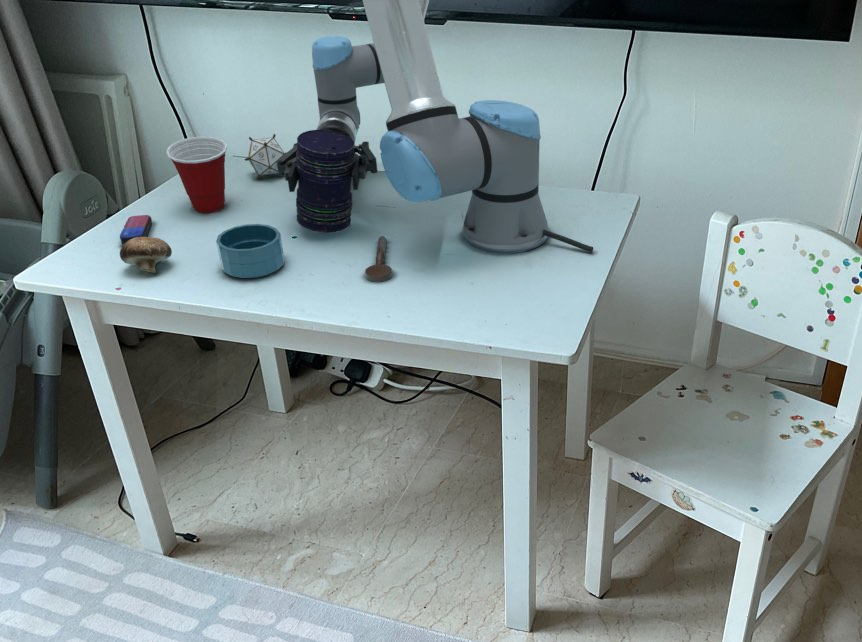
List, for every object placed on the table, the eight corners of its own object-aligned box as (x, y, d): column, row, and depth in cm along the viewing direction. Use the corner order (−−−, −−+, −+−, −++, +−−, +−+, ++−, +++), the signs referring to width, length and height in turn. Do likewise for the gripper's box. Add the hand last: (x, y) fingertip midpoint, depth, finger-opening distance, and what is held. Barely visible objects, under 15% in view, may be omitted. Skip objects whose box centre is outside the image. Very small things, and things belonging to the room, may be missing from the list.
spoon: (370, 242, 159) (369, 234, 158) (395, 241, 159) (394, 234, 159) (364, 282, 147) (364, 274, 146) (391, 281, 147) (391, 273, 146)
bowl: (295, 257, 154) (290, 227, 151) (266, 284, 146) (260, 253, 143) (242, 250, 157) (236, 220, 153) (211, 276, 149) (204, 246, 145)
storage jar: (287, 211, 163) (286, 132, 153) (336, 203, 168) (339, 126, 158) (310, 237, 157) (311, 156, 147) (360, 228, 162) (365, 150, 152)
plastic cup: (178, 222, 166) (163, 159, 159) (181, 199, 175) (167, 139, 168) (238, 216, 168) (226, 154, 161) (238, 194, 177) (227, 134, 170)
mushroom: (150, 267, 144) (142, 229, 144) (114, 279, 147) (105, 242, 147) (185, 269, 152) (177, 233, 152) (149, 281, 155) (141, 246, 155)
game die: (276, 188, 189) (293, 143, 188) (280, 188, 181) (298, 142, 180) (234, 170, 185) (252, 124, 184) (237, 170, 177) (255, 122, 176)
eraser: (131, 222, 166) (128, 213, 165) (154, 220, 167) (151, 211, 166) (119, 247, 157) (117, 237, 156) (143, 245, 158) (141, 236, 157)
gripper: (396, 156, 172) (391, 202, 154) (277, 159, 171) (258, 206, 153) (393, 117, 168) (387, 160, 150) (271, 120, 167) (251, 163, 149)
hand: (322, 183), depth 152 cm, fingers closed on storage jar, 10 cm apart
